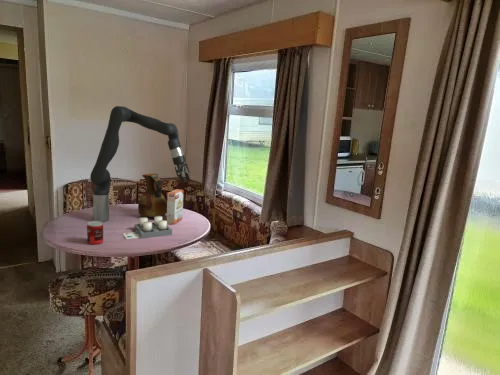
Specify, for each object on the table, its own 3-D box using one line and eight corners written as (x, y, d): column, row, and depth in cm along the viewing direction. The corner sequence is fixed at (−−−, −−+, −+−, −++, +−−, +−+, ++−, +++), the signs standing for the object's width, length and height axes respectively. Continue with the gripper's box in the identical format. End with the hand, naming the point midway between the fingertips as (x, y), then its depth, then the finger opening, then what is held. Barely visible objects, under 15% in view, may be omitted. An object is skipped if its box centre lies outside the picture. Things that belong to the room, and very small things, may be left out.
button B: (155, 225, 215) (155, 218, 214) (153, 223, 219) (153, 216, 218) (163, 225, 217) (163, 217, 216) (160, 222, 221) (161, 215, 220)
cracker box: (174, 225, 228) (175, 193, 224) (166, 224, 229) (166, 192, 225) (183, 219, 242) (184, 189, 237) (174, 218, 243) (175, 188, 238)
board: (141, 238, 201) (141, 233, 200) (134, 229, 215) (134, 224, 214) (172, 234, 210) (172, 229, 210) (163, 226, 224) (163, 221, 224)
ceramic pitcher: (154, 210, 257) (155, 170, 251) (173, 216, 246) (174, 174, 240) (132, 215, 241) (132, 172, 235) (151, 222, 230) (151, 177, 224)
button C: (144, 232, 203) (144, 224, 202) (142, 229, 207) (142, 222, 206) (152, 231, 205) (152, 223, 204) (150, 228, 209) (150, 221, 208)
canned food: (90, 239, 194) (89, 220, 191) (105, 240, 194) (105, 221, 192) (85, 244, 186) (84, 225, 184) (100, 245, 187) (100, 225, 185)
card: (126, 239, 198) (126, 238, 198) (123, 234, 206) (123, 233, 205) (142, 237, 203) (142, 236, 203) (138, 232, 210) (138, 231, 210)
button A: (140, 227, 210) (140, 219, 209) (138, 224, 214) (138, 217, 213) (148, 226, 213) (148, 219, 212) (146, 224, 217) (146, 217, 216)
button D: (159, 230, 207) (160, 222, 206) (157, 227, 211) (157, 220, 210) (167, 229, 210) (168, 222, 209) (165, 227, 214) (165, 219, 213)
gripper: (176, 156, 219) (184, 181, 221) (167, 158, 205) (175, 185, 207) (187, 153, 217) (195, 178, 219) (178, 155, 203) (187, 182, 206)
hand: (186, 181), depth 213 cm, fingers open, 8 cm apart
